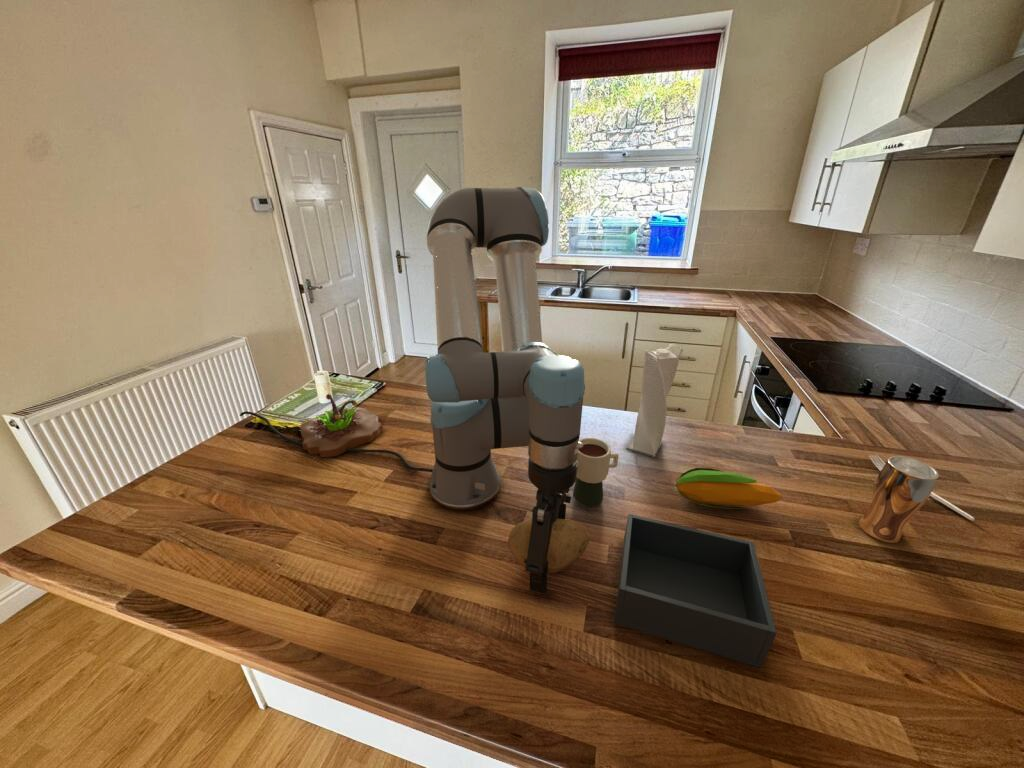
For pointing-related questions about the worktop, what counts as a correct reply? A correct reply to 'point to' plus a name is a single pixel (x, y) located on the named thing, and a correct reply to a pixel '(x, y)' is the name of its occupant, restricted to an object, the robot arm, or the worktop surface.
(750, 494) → the corn
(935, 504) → the worktop surface
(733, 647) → the bin
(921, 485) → the silver curved cylinder
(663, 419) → the skyscraper
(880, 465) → the fork
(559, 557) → the potato
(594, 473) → the character mug
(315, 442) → the plant
